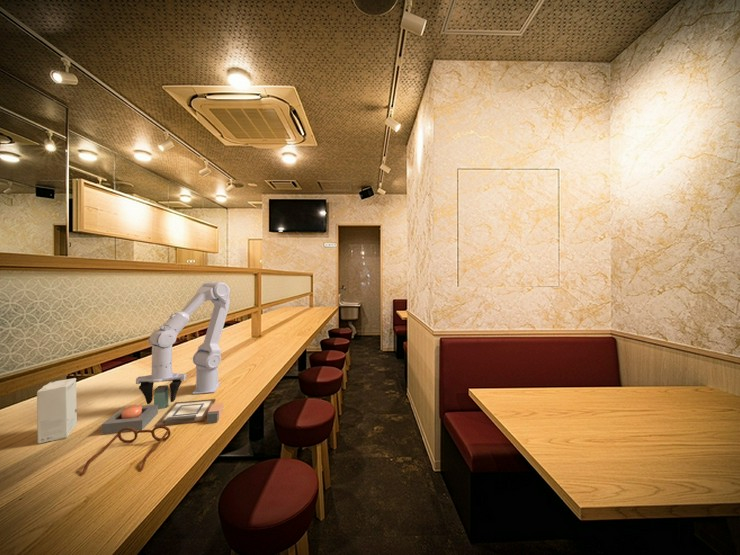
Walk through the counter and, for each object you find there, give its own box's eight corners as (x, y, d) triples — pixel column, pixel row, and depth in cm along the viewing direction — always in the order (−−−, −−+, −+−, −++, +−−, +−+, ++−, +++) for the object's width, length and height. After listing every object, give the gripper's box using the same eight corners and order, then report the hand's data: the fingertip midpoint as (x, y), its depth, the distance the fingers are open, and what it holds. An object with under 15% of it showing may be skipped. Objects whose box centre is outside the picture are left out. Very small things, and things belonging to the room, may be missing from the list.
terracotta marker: (212, 413, 94) (212, 403, 94) (222, 412, 94) (223, 402, 94) (206, 424, 87) (206, 414, 87) (217, 422, 88) (217, 413, 88)
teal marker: (158, 404, 98) (158, 385, 98) (168, 404, 99) (168, 384, 98) (153, 409, 95) (154, 389, 94) (164, 408, 95) (164, 388, 95)
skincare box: (67, 438, 77) (67, 386, 77) (35, 445, 74) (35, 391, 74) (77, 424, 84) (78, 376, 84) (48, 429, 81) (49, 380, 81)
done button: (127, 415, 87) (127, 405, 87) (144, 413, 89) (144, 404, 89) (117, 423, 83) (118, 413, 83) (136, 421, 84) (136, 411, 84)
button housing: (122, 416, 89) (122, 407, 89) (157, 413, 92) (158, 404, 92) (101, 434, 80) (101, 424, 80) (142, 430, 82) (142, 420, 82)
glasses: (171, 440, 79) (171, 423, 78) (140, 473, 66) (141, 453, 66) (119, 443, 76) (120, 426, 76) (78, 478, 64) (78, 457, 64)
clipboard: (175, 404, 99) (175, 399, 99) (215, 400, 102) (215, 396, 102) (155, 426, 84) (155, 421, 84) (202, 421, 88) (202, 416, 88)
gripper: (130, 369, 90) (130, 409, 91) (181, 366, 94) (180, 404, 95) (142, 362, 97) (141, 399, 97) (188, 359, 101) (187, 395, 101)
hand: (161, 401), depth 97 cm, fingers open, 6 cm apart
